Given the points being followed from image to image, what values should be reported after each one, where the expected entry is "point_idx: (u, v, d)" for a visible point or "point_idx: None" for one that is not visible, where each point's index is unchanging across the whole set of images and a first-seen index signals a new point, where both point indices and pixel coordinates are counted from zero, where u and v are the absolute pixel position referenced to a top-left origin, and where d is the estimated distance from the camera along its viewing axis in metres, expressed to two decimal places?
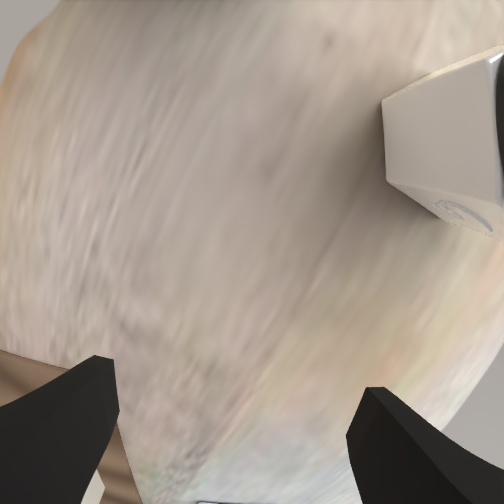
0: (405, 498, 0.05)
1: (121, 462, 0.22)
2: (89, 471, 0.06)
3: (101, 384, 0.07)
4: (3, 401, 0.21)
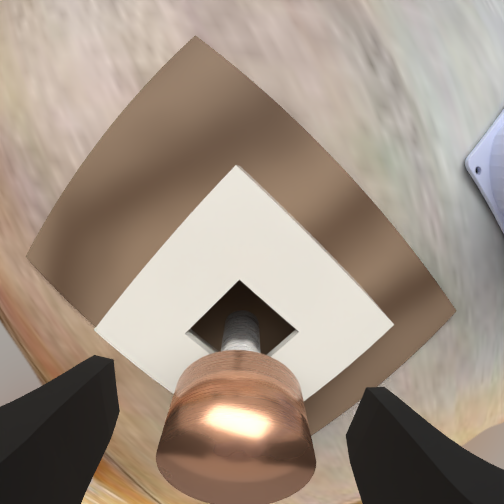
0: (405, 498, 0.05)
1: (329, 167, 0.15)
2: (89, 471, 0.06)
3: (101, 384, 0.07)
4: (121, 285, 0.17)
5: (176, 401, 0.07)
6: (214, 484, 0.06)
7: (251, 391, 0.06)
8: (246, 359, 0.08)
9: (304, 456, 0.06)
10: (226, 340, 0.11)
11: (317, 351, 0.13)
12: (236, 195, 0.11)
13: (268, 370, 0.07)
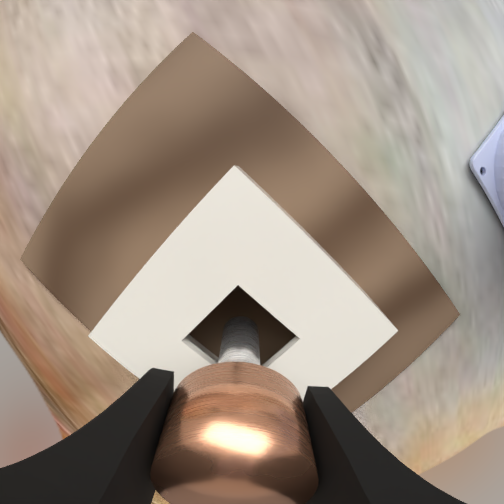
0: None
1: (331, 167, 0.15)
2: (152, 488, 0.06)
3: (166, 398, 0.07)
4: (116, 289, 0.16)
5: (171, 416, 0.06)
6: (211, 501, 0.06)
7: (250, 407, 0.06)
8: (245, 372, 0.07)
9: (306, 474, 0.05)
10: (224, 348, 0.10)
11: (319, 358, 0.12)
12: (234, 197, 0.11)
13: (268, 384, 0.07)
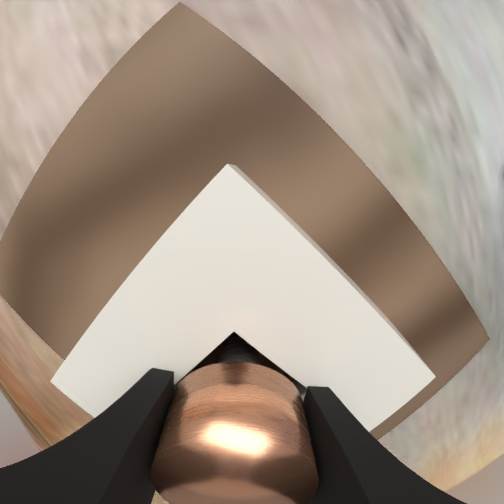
0: None
1: (353, 168, 0.12)
2: (152, 488, 0.06)
3: (166, 398, 0.07)
4: (90, 316, 0.13)
5: (171, 416, 0.06)
6: (212, 501, 0.06)
7: (250, 407, 0.06)
8: (245, 372, 0.07)
9: (306, 474, 0.05)
10: (224, 348, 0.10)
11: None
12: (228, 210, 0.07)
13: (268, 383, 0.07)
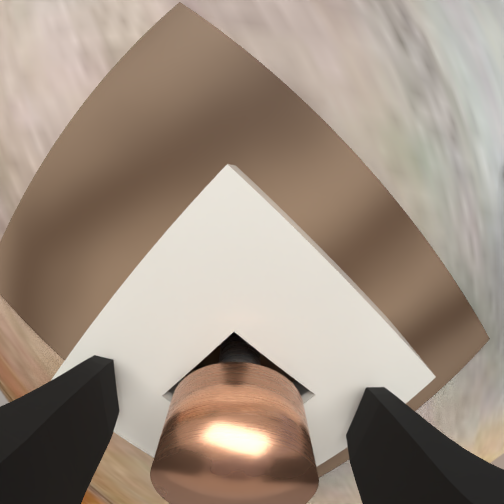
0: (405, 498, 0.05)
1: (353, 168, 0.12)
2: (89, 471, 0.06)
3: (101, 384, 0.07)
4: (90, 316, 0.13)
5: (171, 416, 0.06)
6: (212, 501, 0.06)
7: (250, 408, 0.06)
8: (245, 372, 0.07)
9: (306, 475, 0.05)
10: (224, 348, 0.10)
11: (338, 415, 0.09)
12: (228, 210, 0.07)
13: (268, 384, 0.07)
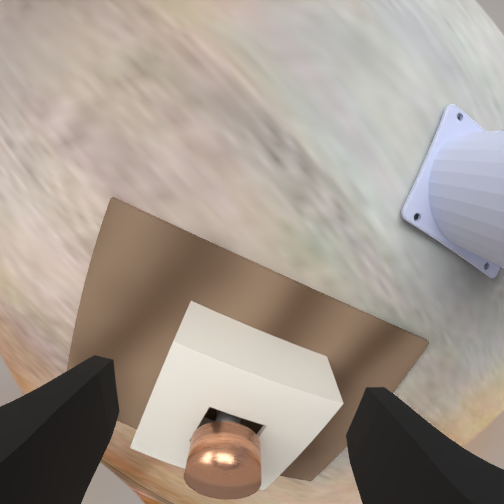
0: (405, 498, 0.05)
1: (264, 278, 0.18)
2: (89, 471, 0.06)
3: (101, 384, 0.07)
4: (141, 399, 0.20)
5: (188, 453, 0.13)
6: (217, 489, 0.12)
7: (216, 445, 0.13)
8: (216, 427, 0.14)
9: (249, 471, 0.12)
10: None
11: (286, 433, 0.15)
12: (183, 360, 0.14)
13: (227, 431, 0.14)
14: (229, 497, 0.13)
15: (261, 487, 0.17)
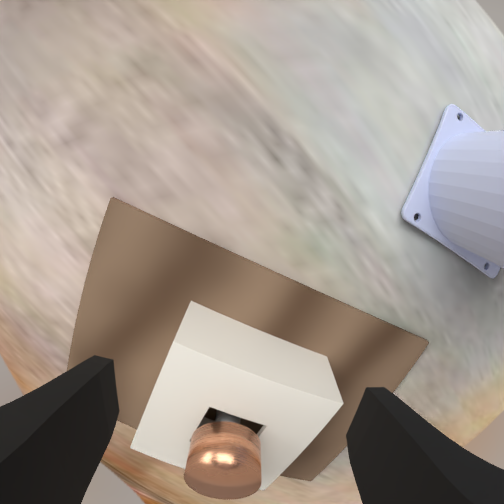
0: (405, 498, 0.05)
1: (264, 278, 0.18)
2: (89, 471, 0.06)
3: (101, 384, 0.07)
4: (141, 399, 0.20)
5: (188, 453, 0.13)
6: (217, 489, 0.12)
7: (216, 445, 0.13)
8: (216, 427, 0.14)
9: (249, 471, 0.12)
10: None
11: (286, 433, 0.15)
12: (183, 360, 0.14)
13: (227, 431, 0.14)
14: (229, 497, 0.13)
15: (261, 487, 0.17)
